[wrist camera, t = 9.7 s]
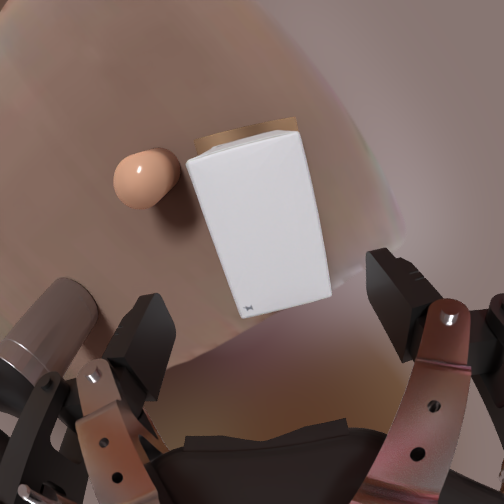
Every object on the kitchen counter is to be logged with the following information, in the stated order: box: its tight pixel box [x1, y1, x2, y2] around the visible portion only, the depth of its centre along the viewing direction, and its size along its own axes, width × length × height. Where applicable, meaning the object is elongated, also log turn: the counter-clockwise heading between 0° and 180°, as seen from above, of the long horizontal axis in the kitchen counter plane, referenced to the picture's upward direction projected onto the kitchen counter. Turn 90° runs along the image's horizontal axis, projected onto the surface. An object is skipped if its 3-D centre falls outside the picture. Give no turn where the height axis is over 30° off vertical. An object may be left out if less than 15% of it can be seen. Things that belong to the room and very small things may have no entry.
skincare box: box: [186, 130, 332, 318], centre depth 20 cm, size 10×6×10 cm, turn 15°
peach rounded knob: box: [114, 148, 180, 210], centre depth 25 cm, size 5×5×6 cm
